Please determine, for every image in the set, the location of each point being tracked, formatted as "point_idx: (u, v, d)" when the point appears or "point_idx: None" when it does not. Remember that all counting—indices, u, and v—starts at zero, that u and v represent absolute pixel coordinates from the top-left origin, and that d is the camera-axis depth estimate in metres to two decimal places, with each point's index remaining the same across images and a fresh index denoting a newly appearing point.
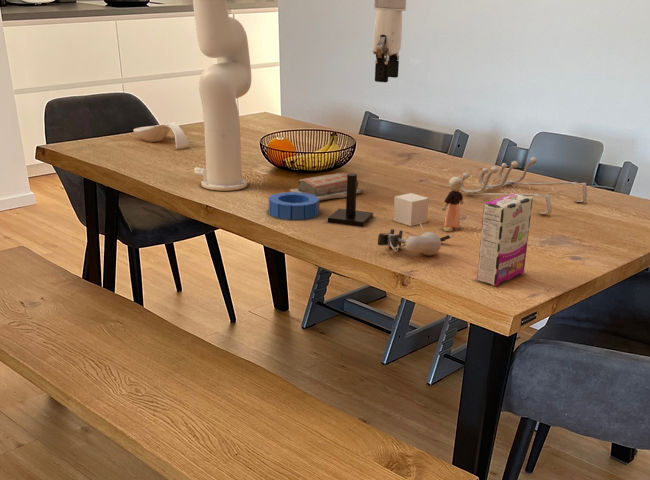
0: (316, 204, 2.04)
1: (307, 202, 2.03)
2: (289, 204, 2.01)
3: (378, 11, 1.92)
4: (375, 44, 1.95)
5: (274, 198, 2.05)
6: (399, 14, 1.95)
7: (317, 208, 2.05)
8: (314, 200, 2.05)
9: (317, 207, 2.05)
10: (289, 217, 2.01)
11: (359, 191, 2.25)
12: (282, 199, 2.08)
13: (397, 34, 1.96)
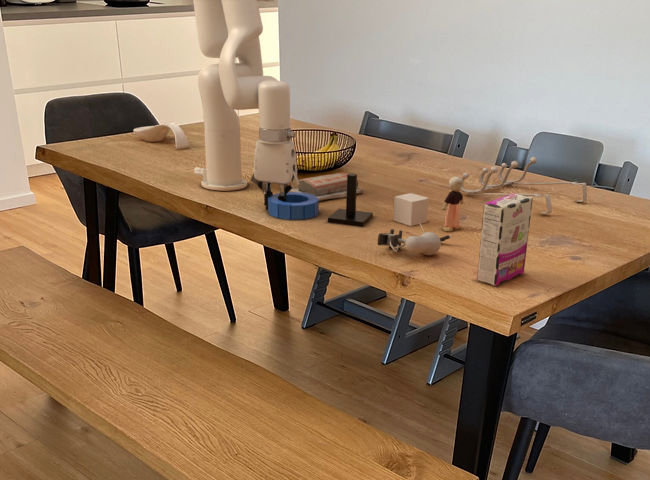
0: (316, 204, 2.04)
1: (307, 202, 2.03)
2: (288, 204, 2.01)
3: None
4: None
5: (274, 198, 2.05)
6: (268, 146, 1.99)
7: (316, 208, 2.05)
8: (314, 200, 2.05)
9: (317, 207, 2.05)
10: (289, 217, 2.01)
11: (359, 191, 2.25)
12: None
13: (267, 164, 2.01)
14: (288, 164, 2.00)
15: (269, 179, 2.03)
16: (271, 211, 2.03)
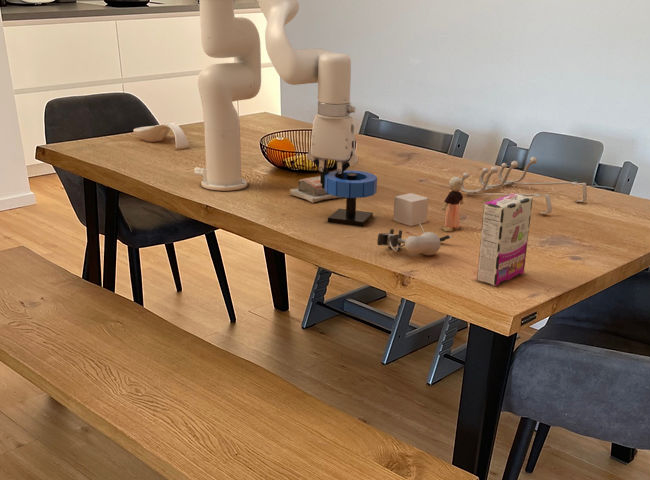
0: (374, 182, 1.97)
1: (365, 180, 1.96)
2: (348, 181, 1.94)
3: None
4: None
5: (331, 176, 1.98)
6: (327, 121, 1.92)
7: (375, 186, 1.98)
8: (372, 178, 1.98)
9: (375, 185, 1.98)
10: (347, 195, 1.95)
11: None
12: None
13: (325, 140, 1.94)
14: (347, 140, 1.93)
15: (327, 156, 1.96)
16: (329, 189, 1.97)
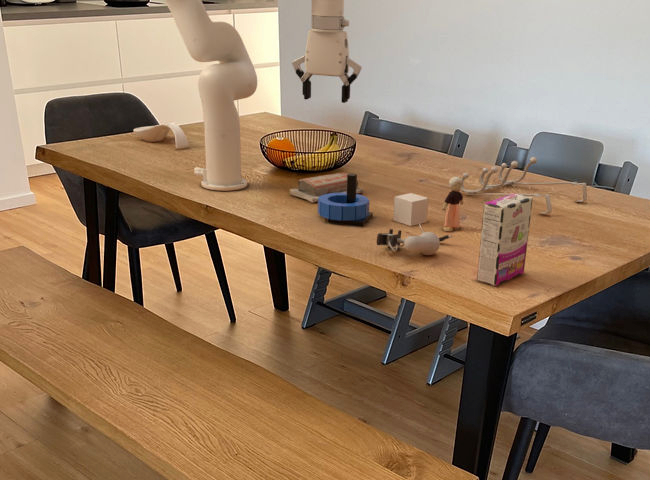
0: (367, 205, 2.01)
1: (358, 203, 2.00)
2: (340, 205, 1.97)
3: None
4: None
5: (324, 199, 2.02)
6: (321, 35, 1.92)
7: (367, 209, 2.02)
8: (364, 201, 2.02)
9: (367, 208, 2.02)
10: (340, 218, 1.98)
11: (359, 191, 2.25)
12: (331, 200, 2.05)
13: (319, 55, 1.95)
14: (341, 54, 1.93)
15: (321, 72, 1.96)
16: (322, 212, 2.00)
